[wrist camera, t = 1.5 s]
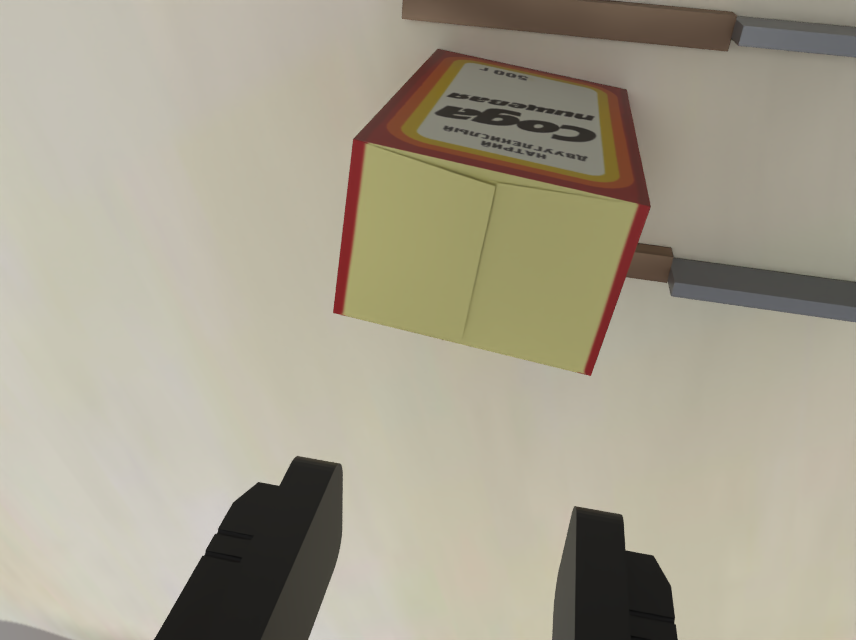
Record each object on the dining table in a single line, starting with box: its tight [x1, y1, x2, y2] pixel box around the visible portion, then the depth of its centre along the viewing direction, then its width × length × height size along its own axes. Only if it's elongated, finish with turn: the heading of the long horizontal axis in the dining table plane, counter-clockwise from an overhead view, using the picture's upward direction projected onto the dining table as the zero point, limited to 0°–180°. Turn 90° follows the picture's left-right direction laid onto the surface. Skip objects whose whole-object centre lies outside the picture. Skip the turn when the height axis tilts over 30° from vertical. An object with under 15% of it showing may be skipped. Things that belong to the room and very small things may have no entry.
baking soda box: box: [333, 49, 651, 376], centre depth 31 cm, size 10×6×16 cm
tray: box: [668, 16, 856, 322], centre depth 35 cm, size 13×13×3 cm
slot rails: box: [402, 0, 737, 283], centre depth 37 cm, size 13×15×1 cm
